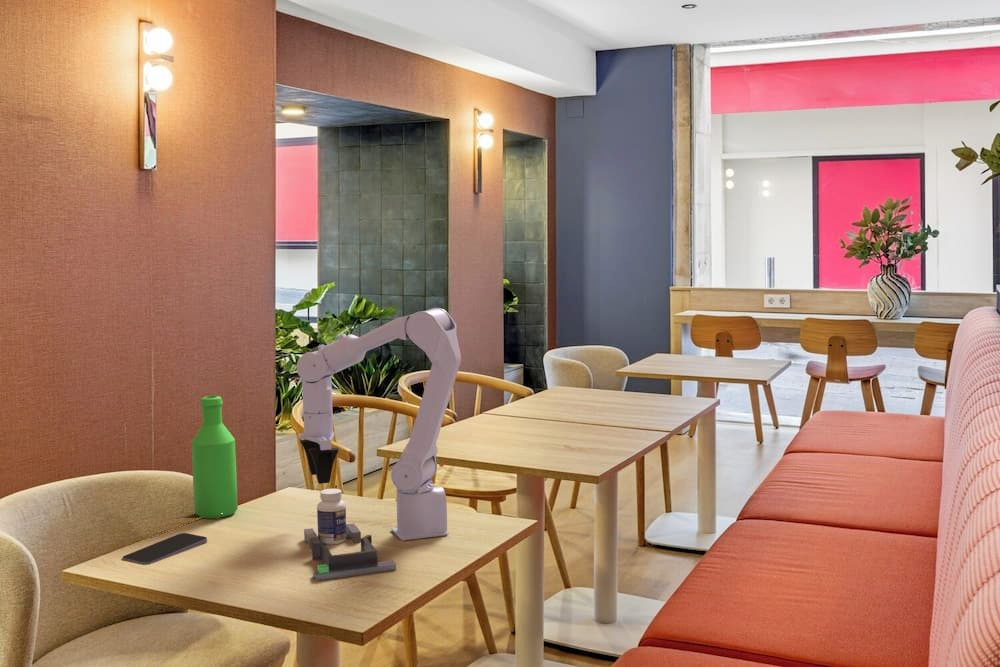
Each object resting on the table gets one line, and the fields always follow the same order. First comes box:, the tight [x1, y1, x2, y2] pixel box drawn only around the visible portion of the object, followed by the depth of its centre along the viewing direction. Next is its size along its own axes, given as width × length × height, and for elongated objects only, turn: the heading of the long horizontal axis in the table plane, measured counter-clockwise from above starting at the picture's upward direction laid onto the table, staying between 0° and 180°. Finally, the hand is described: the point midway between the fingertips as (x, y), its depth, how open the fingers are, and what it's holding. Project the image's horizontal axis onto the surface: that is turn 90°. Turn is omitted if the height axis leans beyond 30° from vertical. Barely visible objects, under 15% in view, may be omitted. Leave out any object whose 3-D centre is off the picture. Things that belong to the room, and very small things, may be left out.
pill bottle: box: [316, 488, 347, 545], centre depth 187 cm, size 5×5×10 cm
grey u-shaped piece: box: [303, 523, 362, 549], centre depth 187 cm, size 10×6×2 cm, turn 111°
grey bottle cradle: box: [311, 534, 397, 582], centre depth 174 cm, size 14×12×3 cm
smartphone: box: [121, 532, 208, 565], centre depth 183 cm, size 7×1×15 cm
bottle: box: [191, 395, 239, 520], centre depth 205 cm, size 9×9×25 cm
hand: (320, 478), depth 195 cm, fingers open, 7 cm apart
